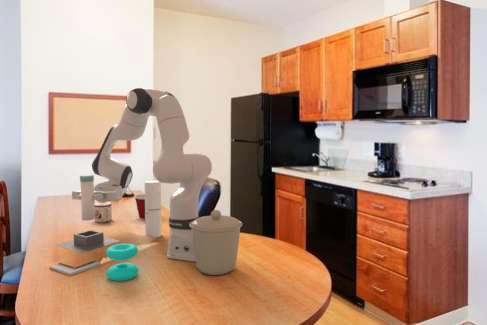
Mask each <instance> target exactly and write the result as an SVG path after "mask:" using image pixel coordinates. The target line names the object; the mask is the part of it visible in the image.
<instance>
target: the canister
mask: <svg viewBox="0 0 487 325" xmlns="http://www.w3.org/2000/svg"><path fill="white" fill-rule="evenodd" d="M242 226H243V223H242V221H241V220H239V219H237V218H235V217H233V216H231V215H230V216H228V215H222V212H221V211H220V210H218V209H215V210H212V211H211V212H210V215H205V216H199V218H197V219H195V220H194V221H192V222H191V223H190V227H191V228H192V236H193V244H194V252H195V259H196V262H195V265H196V268H197V270H198V271H199V272H200V273H202V274H205V275H210V276H220V275H224V274H225V275H227V274H229V273H231V272H232V271H233V270H234V268H235V266H236V264H237V261H238V260H237V258H238V253H239V252H238V250H239V244H240V243H239V241H240V235H241V234H240V233H241V227H242Z"/></svg>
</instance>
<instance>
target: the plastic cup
mask: <svg viewBox="0 0 487 325" xmlns="http://www.w3.org/2000/svg"><path fill="white" fill-rule="evenodd" d="M134 199H135V204H136V209H137V213H138V214H137V215H138V218H142V219H145V193H140V194H135V195H134Z"/></svg>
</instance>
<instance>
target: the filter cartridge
mask: <svg viewBox="0 0 487 325" xmlns="http://www.w3.org/2000/svg"><path fill="white" fill-rule="evenodd" d="M94 176H95V174H94V175H93V174H86V175H85V174H84V175H80V176H79V181H80V189H81V200H80V201H81V202H80V204H81V207H80V208H81V221H92V220H95V205H94V204H95V200H92V196H93V195H94V187H95V182H94V180H95V177H94Z"/></svg>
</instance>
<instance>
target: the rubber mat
mask: <svg viewBox="0 0 487 325" xmlns="http://www.w3.org/2000/svg"><path fill="white" fill-rule="evenodd" d="M101 265H102V262H101V261H97V260H93V261H90V262H87V263H83V264H81V265H78V266H71V265H69V264H65V263H61V262H59V263H55V264H53V265H49V268H48V269H50V270H53V271H56V272H59V273H61V274H63V275H68V276H73V275H76V274H79V273H83V272H84V271H88V270H91V269H93V268H95V267H98V266H101Z"/></svg>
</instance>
